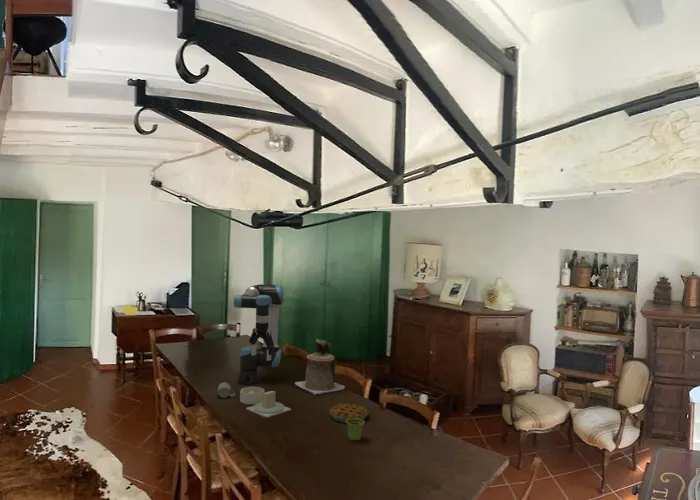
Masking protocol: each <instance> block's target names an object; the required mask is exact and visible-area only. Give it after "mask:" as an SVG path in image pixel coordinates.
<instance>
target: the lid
mask: <svg viewBox="0 0 700 500" xmlns="http://www.w3.org/2000/svg"><path fill="white" fill-rule="evenodd" d="M276 392H277V391H276V390H275V391H274V390H269V391H265V393H263V401H262V402H260V403H257V404H253V406H254V410H255V411H256V412H259V413H264V414H273V413H278V412H281V411H282V410H283V409H284V406H285V405H284V404H283V403H282V402H278V401H276Z"/></svg>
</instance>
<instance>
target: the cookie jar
mask: <svg viewBox="0 0 700 500" xmlns="http://www.w3.org/2000/svg"><path fill="white" fill-rule="evenodd" d="M315 347H316V350H315V352H313V353H310V354H307V355H306V360H307V365H306V368H305V378H304V379H305V380H303V381H295V382H294V384H295V387H299V388H300V389H303V390H304V391H306V392H309V393H311V394H313V395H314V396H317V395H323V394H328V393H334V392H337V391H342V390H344V389H345V388H346V386H344V385H342V384H339V383H338V382H335V370H336V358H335V356H334V355H333V354H331V352H330V350H331V349H332V344H331V343H328V341H327V340H323V339H319V338H316V339H315Z"/></svg>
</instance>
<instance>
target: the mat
mask: <svg viewBox="0 0 700 500" xmlns="http://www.w3.org/2000/svg"><path fill="white" fill-rule="evenodd" d="M246 410H247V411H249V412H251V413H254V414H256V415H259V416H261V417H263V418H265V419H266V418H267V419H268V418H271V417H274V416H277V415H281V414H284V413H287V412H290V411H292V409H291V408H290V407H287V406H285V405H284V409H283V410H282V411H281V412H278V413H273V414H264V413H259V412H256V411H255V410H254V405H252V406H248V407H246Z"/></svg>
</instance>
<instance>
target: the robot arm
mask: <svg viewBox="0 0 700 500" xmlns="http://www.w3.org/2000/svg"><path fill="white" fill-rule="evenodd" d="M284 302H285V293H284V287H283V286H282V285H279V284H255V285H252V286H249V287H248V288H247V289H246V290H245V292H244V293H243V294H235V295H234V297H233V307H234V308H237V309H255V327H254V328H252V332H251V334H250V337H249V340H248V343H250V345H248V346H245V347H242V348H241V349H240V353H239V372H238V375H237V378H236V383H238V384H239V385H243V386H244V385H245V386H246V385H247V386H250V385H251V386H252V385H257V384H259V383H260V382H261V376H260V373H259V367H264V368H266V367H269V368H274V367H275V368H276V367H278V366H279V365H280V361H281V358H282V349H281V348H280V345H279V344H278V341H279V340H278V337H279V336H278V335H279V334H278V333H279V318H280V316H279V315H280V307H282V304H283V303H284ZM260 338H261V339H262V340H263V342H264V343H263V344H262V345H261V348H259V346H258V345H257V341H258V340H259V339H260Z"/></svg>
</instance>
